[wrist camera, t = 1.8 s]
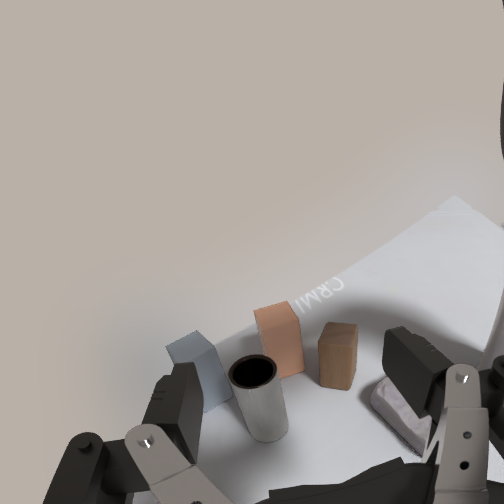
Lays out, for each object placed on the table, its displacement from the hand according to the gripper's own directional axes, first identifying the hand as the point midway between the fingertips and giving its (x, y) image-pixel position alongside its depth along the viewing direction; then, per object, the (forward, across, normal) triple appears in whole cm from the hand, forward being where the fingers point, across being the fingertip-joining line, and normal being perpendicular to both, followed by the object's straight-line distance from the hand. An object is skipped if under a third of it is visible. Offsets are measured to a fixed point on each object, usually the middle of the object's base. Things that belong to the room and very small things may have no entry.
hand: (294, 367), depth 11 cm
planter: (+14, +1, +19) cm, 23 cm away
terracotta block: (+24, -2, +17) cm, 29 cm away
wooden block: (+19, -8, +17) cm, 27 cm away
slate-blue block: (+20, +9, +18) cm, 29 cm away
